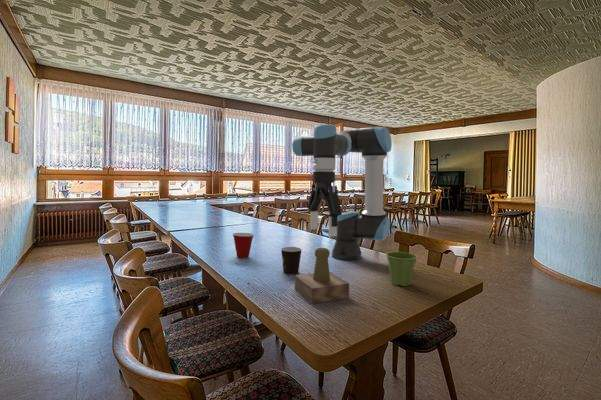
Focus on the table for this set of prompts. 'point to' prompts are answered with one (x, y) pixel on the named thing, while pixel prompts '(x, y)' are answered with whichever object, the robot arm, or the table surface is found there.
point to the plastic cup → (243, 244)
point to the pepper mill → (321, 265)
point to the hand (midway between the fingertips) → (322, 232)
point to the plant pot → (401, 267)
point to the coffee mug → (291, 259)
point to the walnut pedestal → (321, 288)
